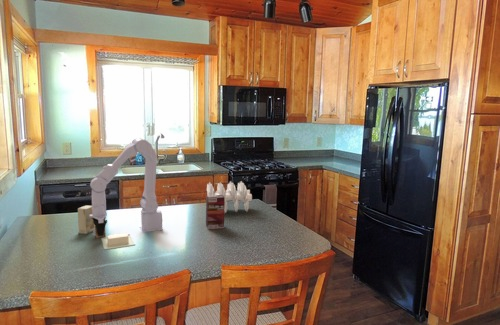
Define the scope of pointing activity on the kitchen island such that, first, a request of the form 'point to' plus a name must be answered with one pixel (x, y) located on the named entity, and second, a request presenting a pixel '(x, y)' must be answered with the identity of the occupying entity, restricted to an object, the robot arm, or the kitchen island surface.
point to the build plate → (106, 246)
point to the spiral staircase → (232, 194)
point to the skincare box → (85, 220)
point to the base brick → (117, 239)
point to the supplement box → (215, 211)
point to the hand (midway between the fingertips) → (100, 234)
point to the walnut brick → (97, 233)
